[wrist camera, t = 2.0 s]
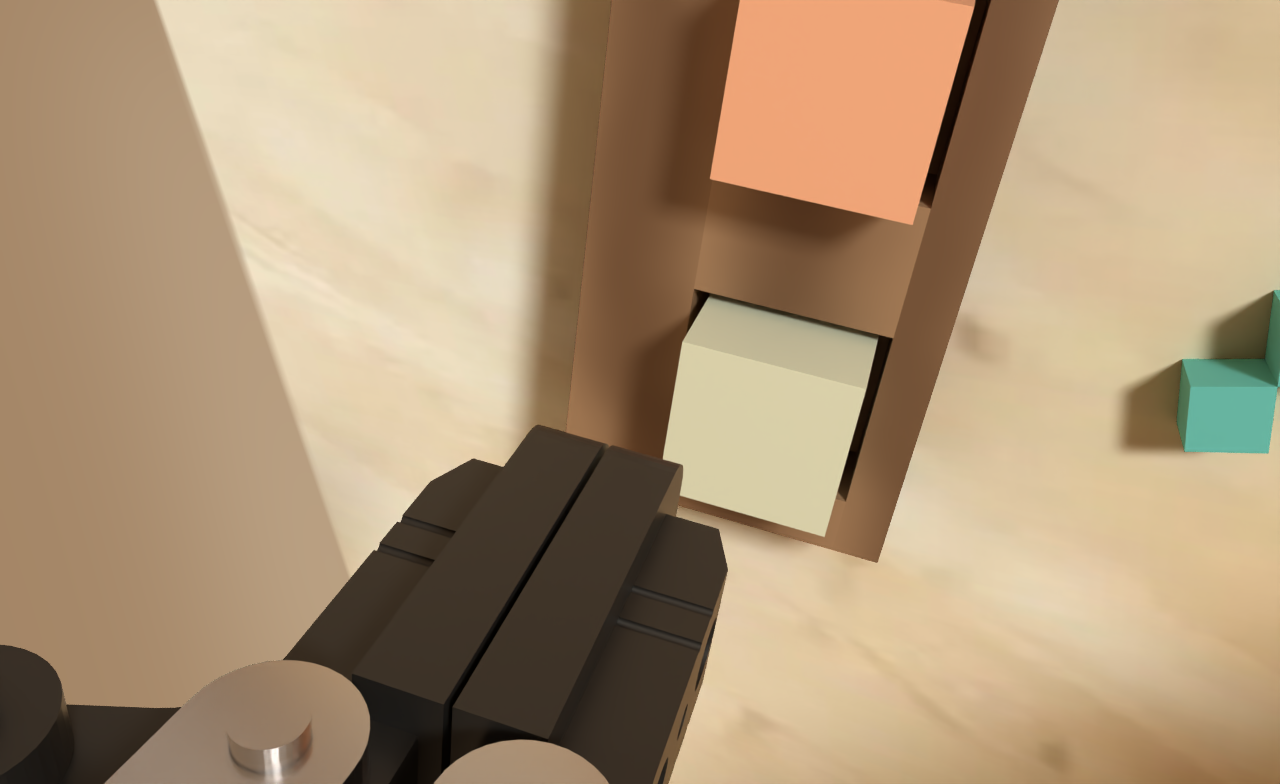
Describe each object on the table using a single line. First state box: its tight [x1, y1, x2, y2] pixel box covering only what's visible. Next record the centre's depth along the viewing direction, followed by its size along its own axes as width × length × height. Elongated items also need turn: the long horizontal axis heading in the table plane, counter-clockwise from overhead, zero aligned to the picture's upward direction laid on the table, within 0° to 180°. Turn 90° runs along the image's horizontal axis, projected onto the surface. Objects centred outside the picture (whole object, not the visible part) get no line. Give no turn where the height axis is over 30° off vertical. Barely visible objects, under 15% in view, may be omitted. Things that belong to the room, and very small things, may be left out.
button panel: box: [566, 0, 1059, 563], centre depth 29 cm, size 11×30×4 cm, turn 172°
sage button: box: [663, 293, 879, 537], centre depth 32 cm, size 5×5×4 cm
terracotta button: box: [710, 0, 975, 225], centre depth 27 cm, size 5×5×4 cm
